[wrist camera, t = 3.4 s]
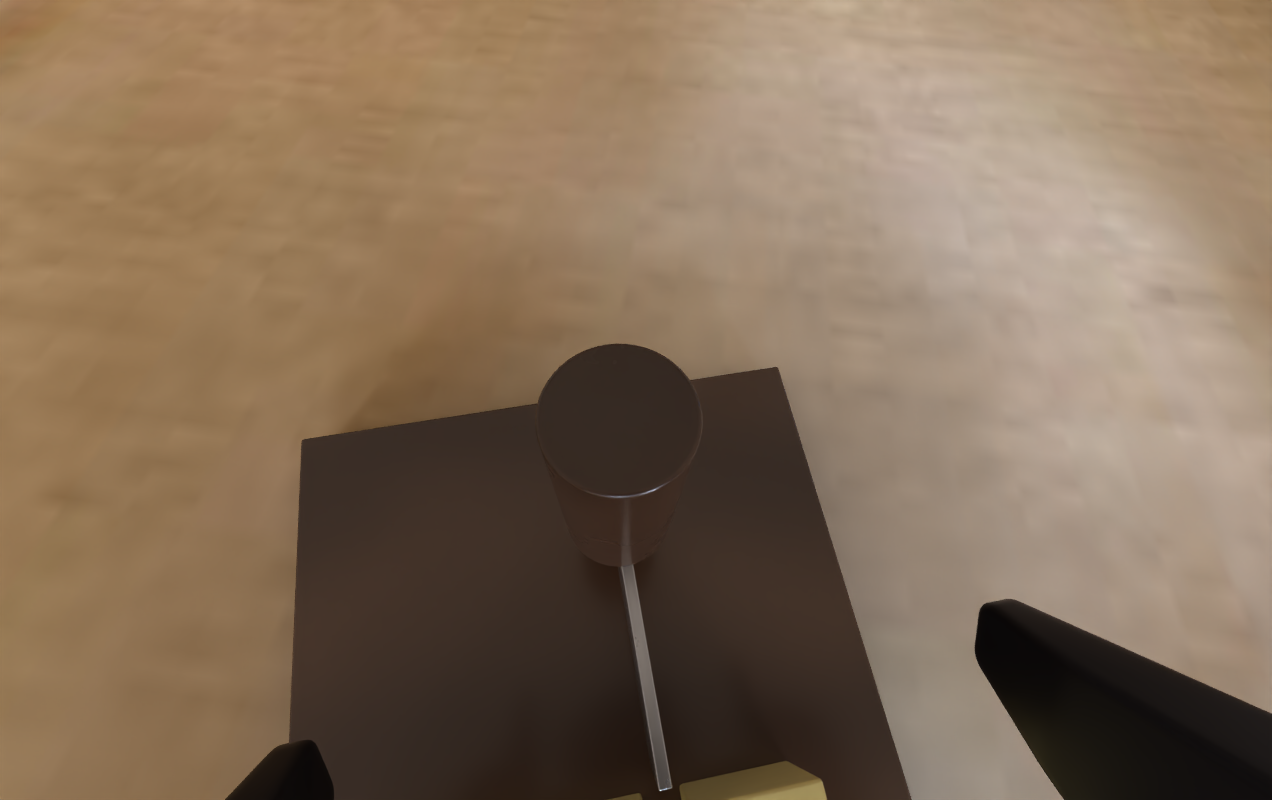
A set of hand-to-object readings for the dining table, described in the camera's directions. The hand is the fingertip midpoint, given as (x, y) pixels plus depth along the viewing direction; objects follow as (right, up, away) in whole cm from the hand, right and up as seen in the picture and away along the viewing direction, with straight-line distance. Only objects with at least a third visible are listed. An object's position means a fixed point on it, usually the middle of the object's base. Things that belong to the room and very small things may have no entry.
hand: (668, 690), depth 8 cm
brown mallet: (-1, -2, +9) cm, 9 cm away
